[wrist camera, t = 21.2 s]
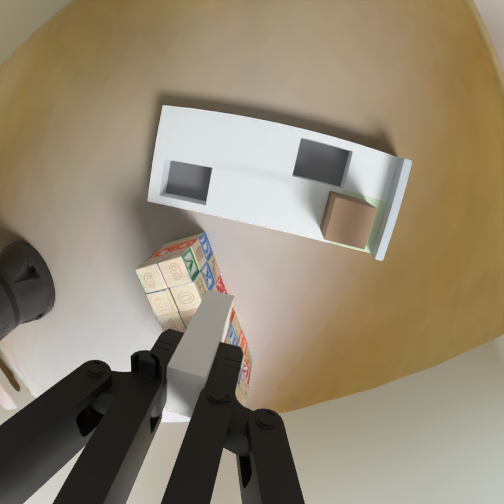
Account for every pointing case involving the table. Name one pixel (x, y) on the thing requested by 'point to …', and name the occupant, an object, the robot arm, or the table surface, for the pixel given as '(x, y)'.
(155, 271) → the stack of blocks
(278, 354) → the table surface
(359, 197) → the box
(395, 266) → the table surface
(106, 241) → the table surface
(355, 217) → the walnut block
